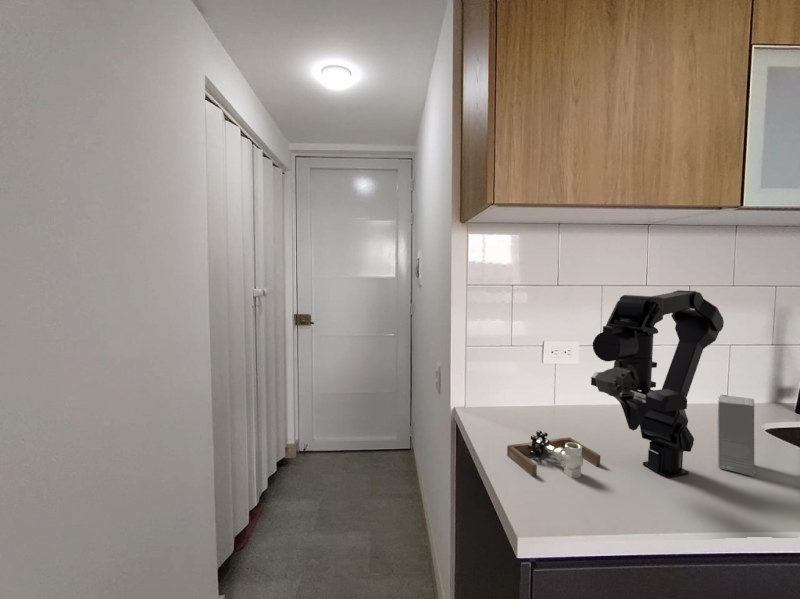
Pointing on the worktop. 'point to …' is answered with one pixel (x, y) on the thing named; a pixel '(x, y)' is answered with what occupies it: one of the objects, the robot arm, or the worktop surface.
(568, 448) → the valve
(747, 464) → the skincare box
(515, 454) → the carrier bracket
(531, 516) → the worktop surface
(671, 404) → the robot arm
